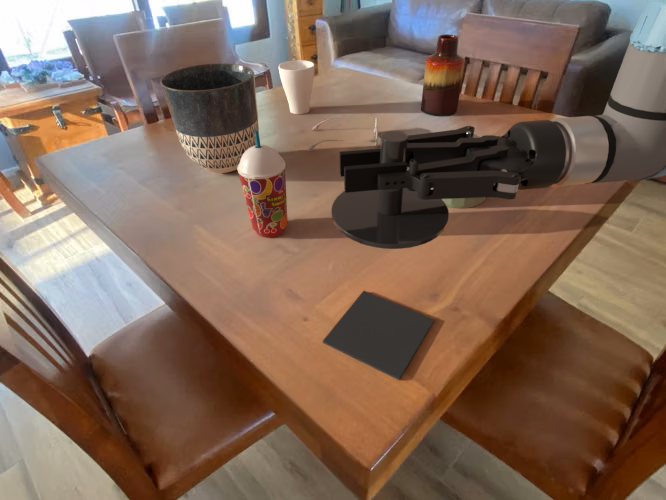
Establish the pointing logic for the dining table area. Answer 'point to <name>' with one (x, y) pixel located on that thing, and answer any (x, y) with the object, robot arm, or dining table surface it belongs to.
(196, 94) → the planter
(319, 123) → the eyeglasses
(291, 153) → the dining table surface
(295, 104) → the cup
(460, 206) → the pot
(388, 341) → the mat
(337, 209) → the lid
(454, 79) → the vase
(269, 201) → the smoothie
